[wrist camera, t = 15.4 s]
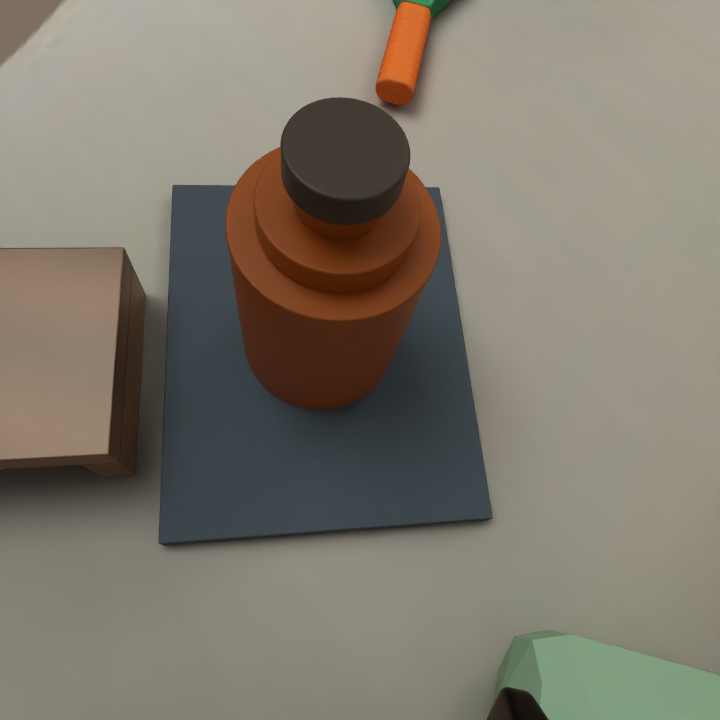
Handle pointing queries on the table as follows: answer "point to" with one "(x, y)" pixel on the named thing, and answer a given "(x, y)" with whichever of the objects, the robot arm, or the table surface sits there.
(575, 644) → the container
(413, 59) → the magnifying glass
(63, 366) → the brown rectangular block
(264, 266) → the amber bottle
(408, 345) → the placemat
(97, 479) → the table surface
